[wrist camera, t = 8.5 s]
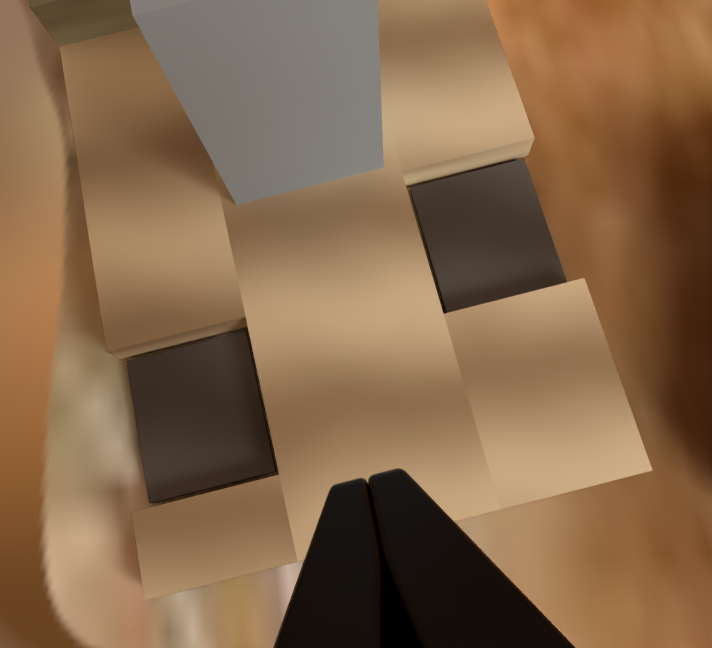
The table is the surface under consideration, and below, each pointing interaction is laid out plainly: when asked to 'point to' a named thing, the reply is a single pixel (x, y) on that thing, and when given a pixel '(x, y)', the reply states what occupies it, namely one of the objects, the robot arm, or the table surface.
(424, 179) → the trap board
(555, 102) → the table surface
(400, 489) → the robot arm
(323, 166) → the slate block
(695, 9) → the table surface
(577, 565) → the table surface
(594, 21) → the table surface
